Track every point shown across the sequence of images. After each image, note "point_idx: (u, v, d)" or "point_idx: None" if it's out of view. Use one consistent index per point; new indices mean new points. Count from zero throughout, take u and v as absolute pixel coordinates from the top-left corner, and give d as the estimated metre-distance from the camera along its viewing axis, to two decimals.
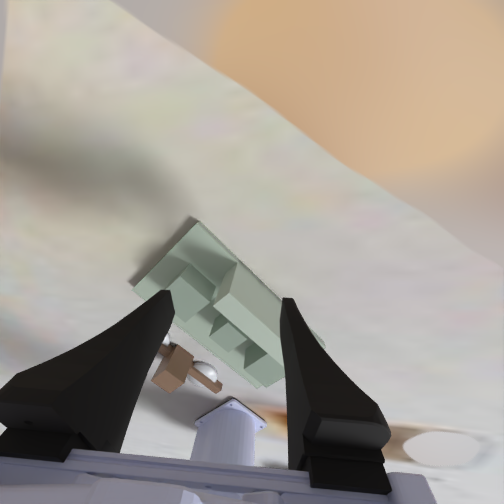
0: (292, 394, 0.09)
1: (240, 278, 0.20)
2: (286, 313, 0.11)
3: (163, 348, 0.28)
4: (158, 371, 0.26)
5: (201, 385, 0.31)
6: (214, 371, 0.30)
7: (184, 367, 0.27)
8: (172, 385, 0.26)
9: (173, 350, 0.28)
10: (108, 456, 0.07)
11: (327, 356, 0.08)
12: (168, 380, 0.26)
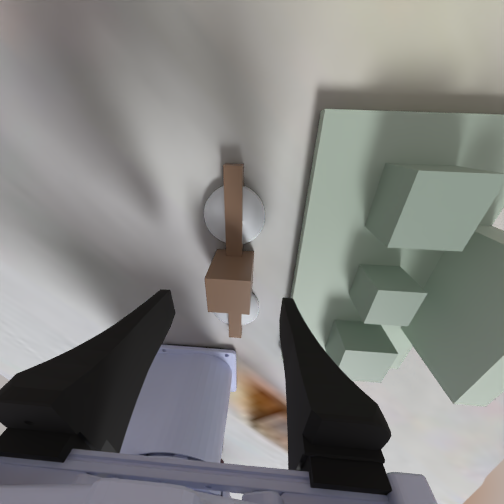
0: (292, 394, 0.09)
1: None
2: (286, 313, 0.11)
3: (240, 242, 0.15)
4: (221, 272, 0.14)
5: (220, 317, 0.20)
6: None
7: (251, 290, 0.16)
8: (228, 306, 0.14)
9: (247, 255, 0.16)
10: (108, 456, 0.07)
11: (327, 356, 0.08)
12: (233, 297, 0.14)
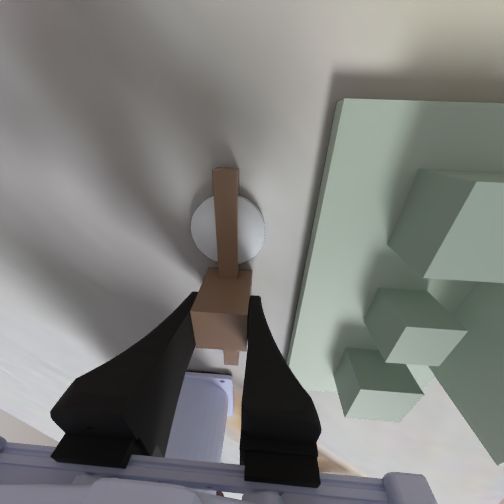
0: None
1: None
2: (248, 310, 0.11)
3: (235, 263, 0.13)
4: (211, 301, 0.11)
5: None
6: None
7: None
8: (220, 342, 0.12)
9: (243, 277, 0.13)
10: None
11: (277, 352, 0.09)
12: (226, 332, 0.11)
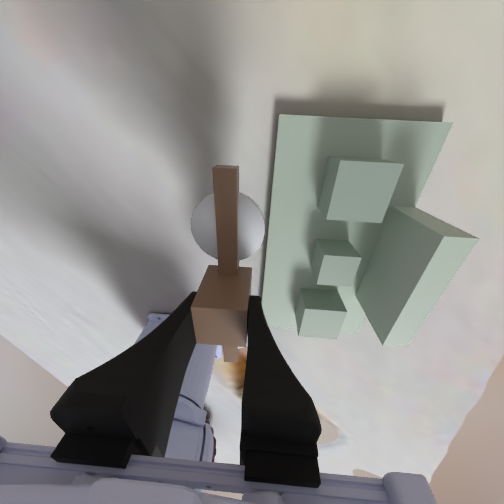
0: None
1: None
2: (248, 310, 0.11)
3: (234, 259, 0.13)
4: (212, 297, 0.12)
5: None
6: None
7: None
8: (220, 338, 0.12)
9: (243, 273, 0.14)
10: None
11: (277, 352, 0.09)
12: (226, 328, 0.11)
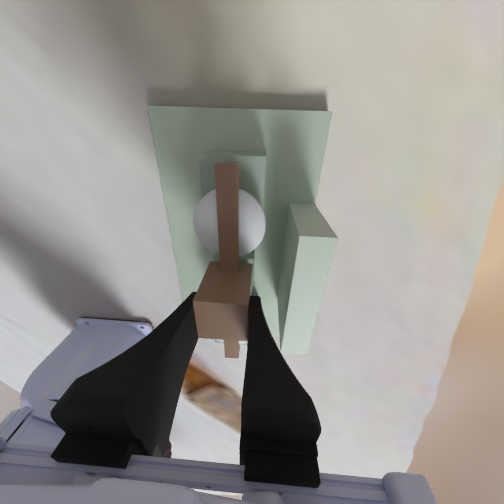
0: None
1: None
2: (248, 310, 0.11)
3: (236, 255, 0.13)
4: (213, 292, 0.12)
5: None
6: None
7: None
8: (222, 332, 0.12)
9: (244, 269, 0.14)
10: None
11: (277, 352, 0.09)
12: (227, 321, 0.12)
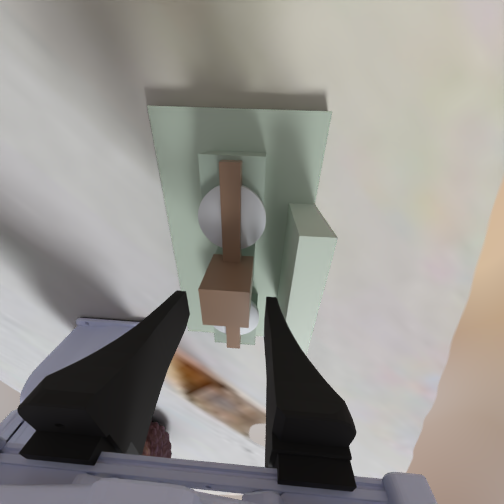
0: (268, 392, 0.09)
1: None
2: (267, 312, 0.11)
3: (238, 247, 0.14)
4: (217, 281, 0.13)
5: (217, 326, 0.18)
6: None
7: None
8: (225, 319, 0.13)
9: (246, 261, 0.15)
10: (108, 456, 0.07)
11: (302, 354, 0.08)
12: (230, 309, 0.13)
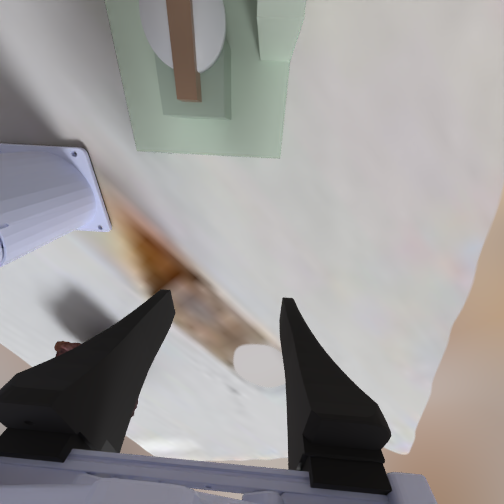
0: (292, 394, 0.09)
1: None
2: (286, 313, 0.11)
3: None
4: None
5: (158, 48, 0.11)
6: (223, 35, 0.11)
7: None
8: None
9: None
10: (108, 456, 0.07)
11: (327, 356, 0.08)
12: None
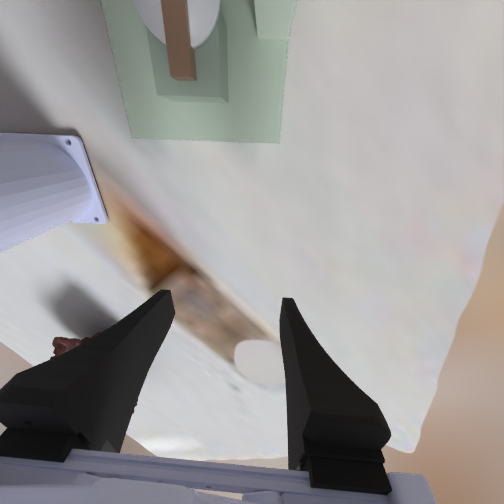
0: (292, 394, 0.09)
1: None
2: (286, 313, 0.11)
3: None
4: None
5: (150, 21, 0.11)
6: (217, 6, 0.10)
7: None
8: None
9: None
10: (108, 456, 0.07)
11: (327, 356, 0.08)
12: None
